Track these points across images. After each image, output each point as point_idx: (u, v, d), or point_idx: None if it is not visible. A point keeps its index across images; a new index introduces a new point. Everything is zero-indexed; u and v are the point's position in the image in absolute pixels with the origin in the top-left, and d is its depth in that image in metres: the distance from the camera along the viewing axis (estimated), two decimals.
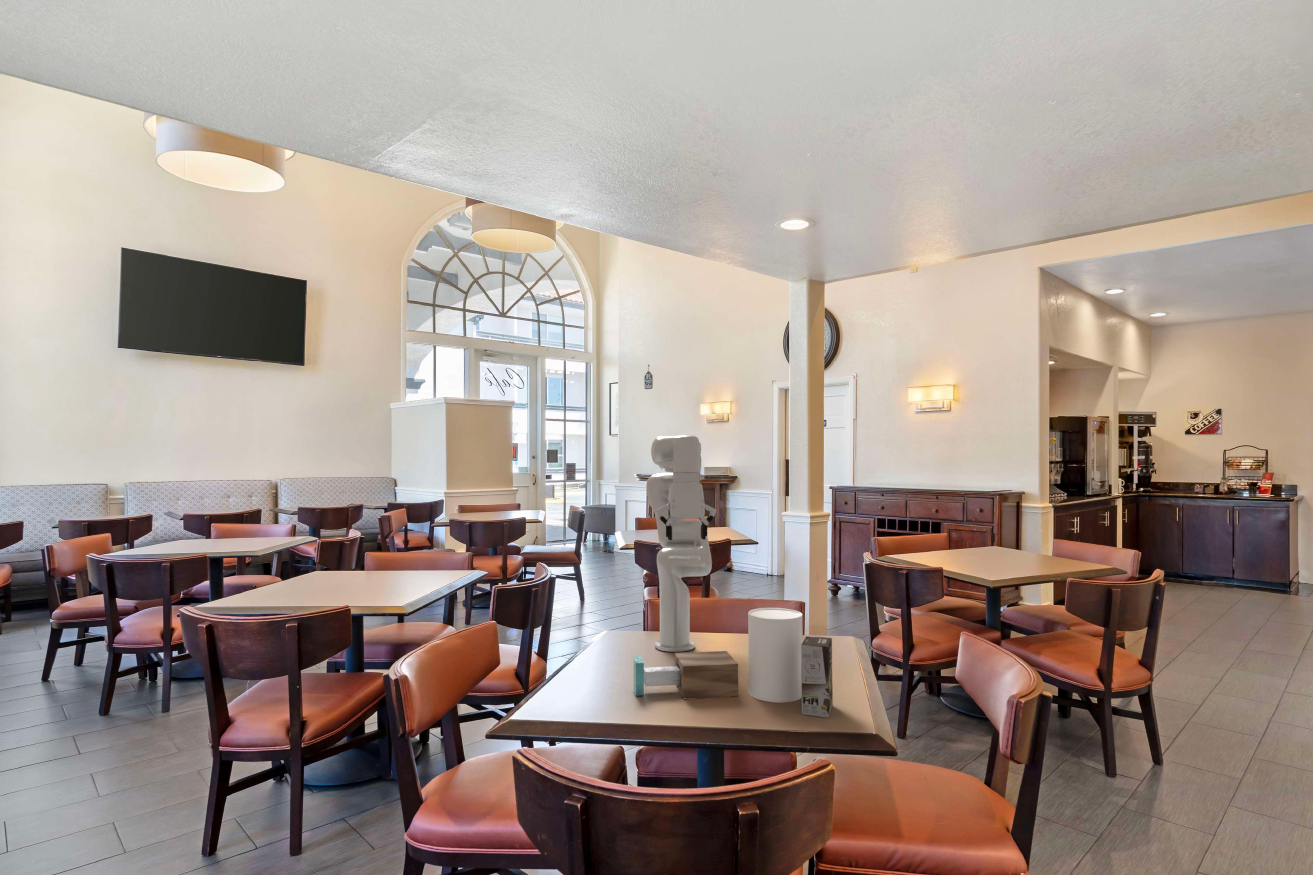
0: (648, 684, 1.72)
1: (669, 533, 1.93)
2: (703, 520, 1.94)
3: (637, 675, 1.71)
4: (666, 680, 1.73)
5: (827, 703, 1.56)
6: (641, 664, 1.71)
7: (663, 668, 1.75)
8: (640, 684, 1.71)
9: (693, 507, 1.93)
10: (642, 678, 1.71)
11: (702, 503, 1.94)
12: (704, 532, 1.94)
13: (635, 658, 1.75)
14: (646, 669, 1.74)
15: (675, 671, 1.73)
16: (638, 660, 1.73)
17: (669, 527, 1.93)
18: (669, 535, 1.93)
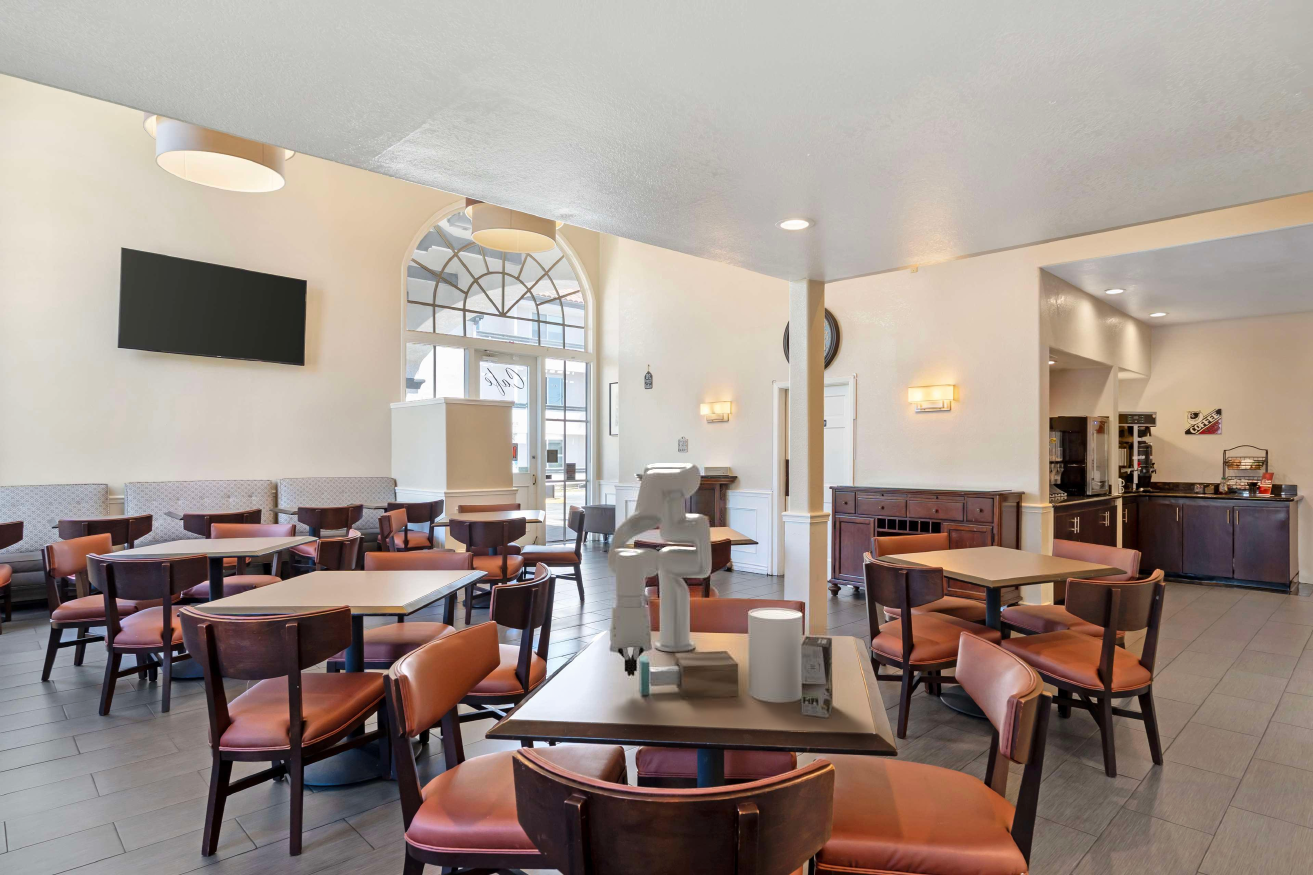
0: (653, 684, 1.72)
1: (628, 668, 1.72)
2: (635, 652, 1.73)
3: (643, 675, 1.71)
4: (671, 680, 1.73)
5: (827, 703, 1.56)
6: (646, 663, 1.72)
7: (669, 668, 1.75)
8: (646, 684, 1.71)
9: (637, 634, 1.72)
10: (648, 678, 1.71)
11: (648, 629, 1.72)
12: (633, 667, 1.72)
13: (640, 658, 1.75)
14: (651, 669, 1.74)
15: None
16: (643, 660, 1.74)
17: (628, 661, 1.72)
18: (628, 670, 1.72)
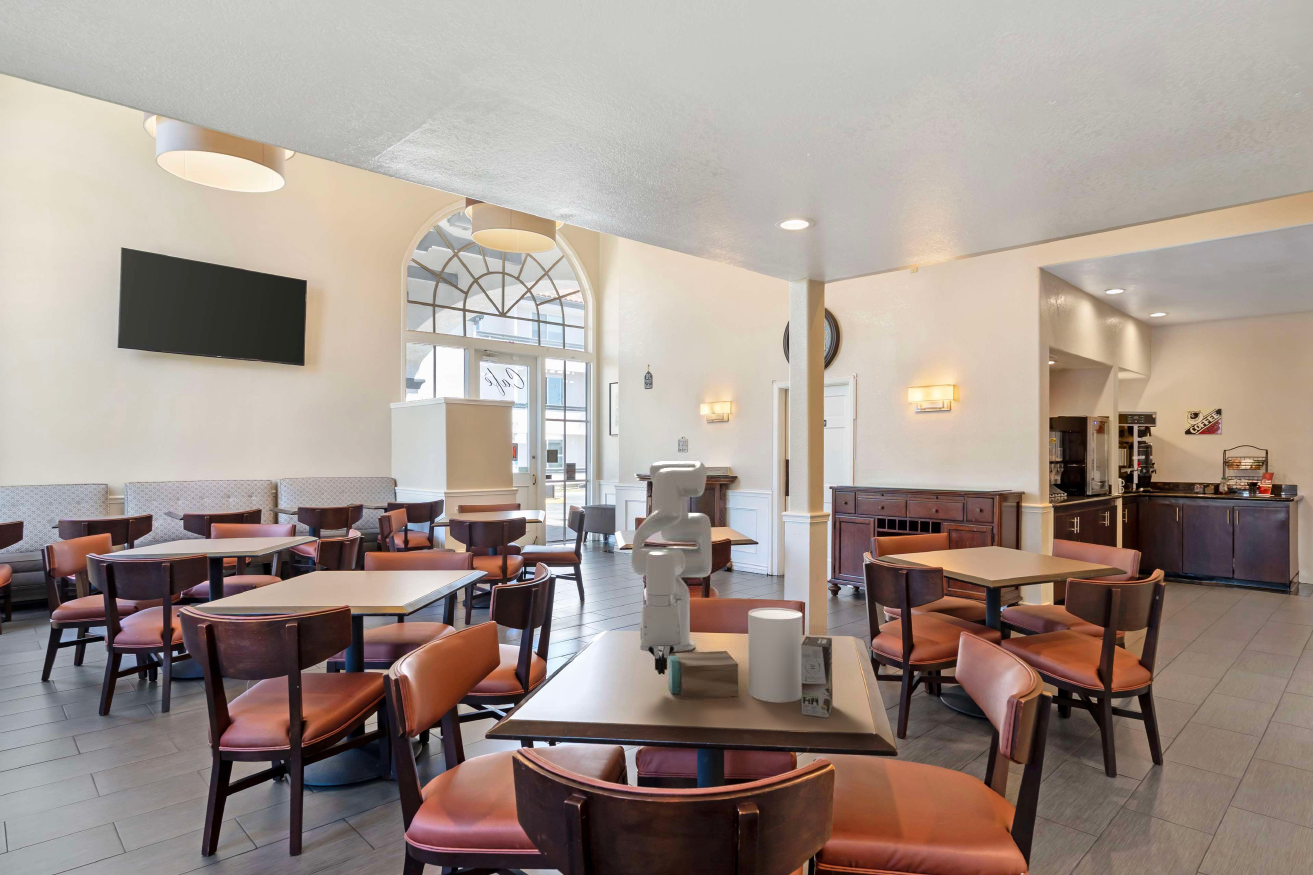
0: None
1: (658, 666, 1.73)
2: (666, 650, 1.74)
3: (673, 673, 1.72)
4: None
5: (827, 703, 1.56)
6: (677, 662, 1.73)
7: None
8: (676, 682, 1.72)
9: (668, 633, 1.73)
10: (678, 676, 1.73)
11: (678, 628, 1.74)
12: (663, 666, 1.73)
13: (670, 657, 1.77)
14: None
15: None
16: (673, 658, 1.75)
17: (658, 660, 1.73)
18: (658, 669, 1.73)
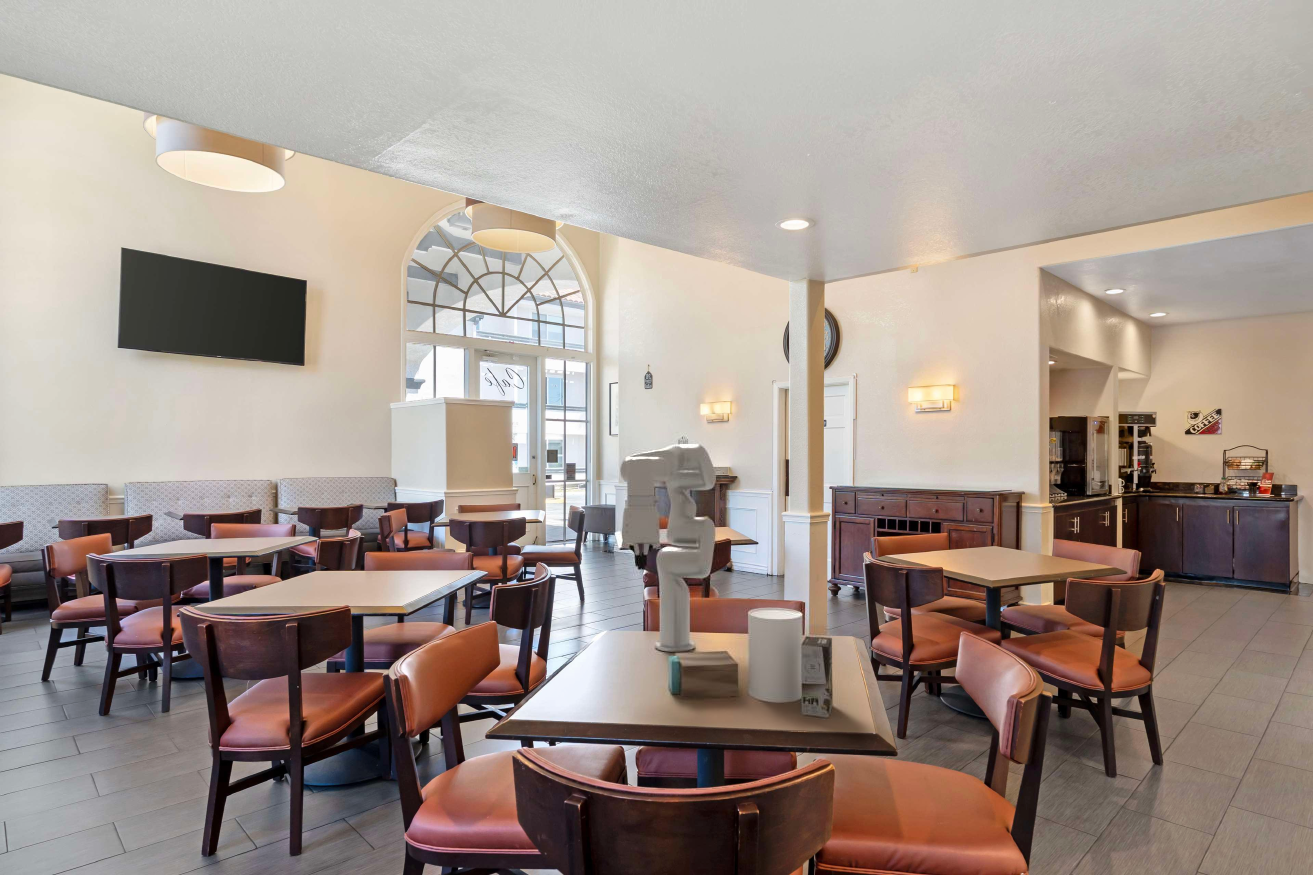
0: None
1: (638, 562, 1.88)
2: (645, 548, 1.88)
3: (673, 673, 1.72)
4: None
5: (827, 703, 1.56)
6: (676, 662, 1.73)
7: None
8: (676, 682, 1.72)
9: (647, 531, 1.87)
10: (678, 676, 1.73)
11: (657, 527, 1.88)
12: (643, 562, 1.88)
13: (670, 657, 1.77)
14: None
15: None
16: (673, 658, 1.75)
17: (638, 556, 1.88)
18: (638, 564, 1.88)
